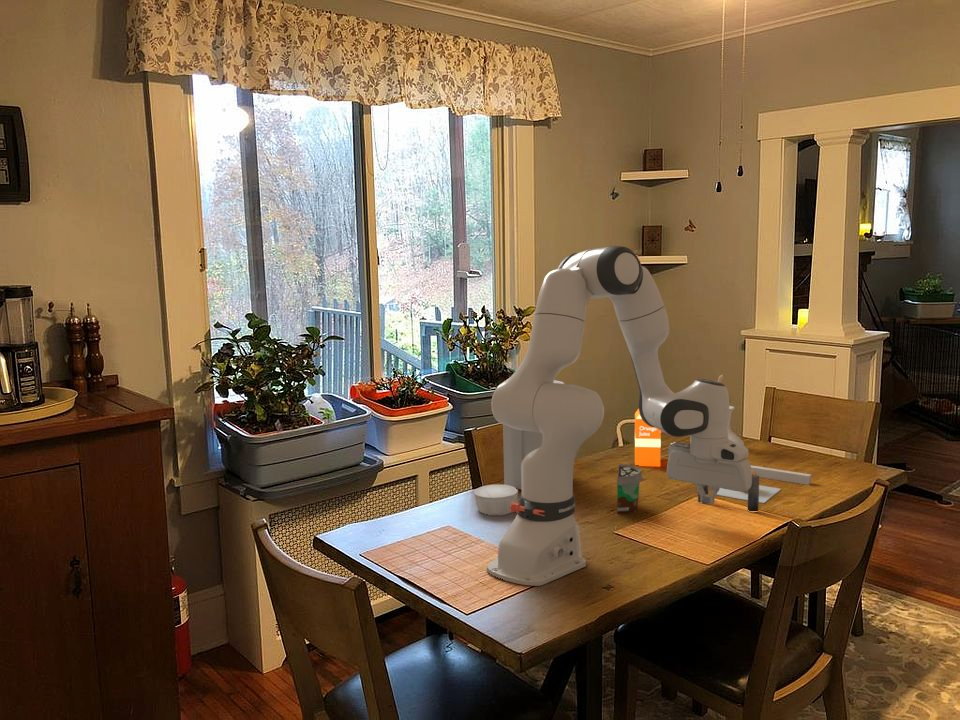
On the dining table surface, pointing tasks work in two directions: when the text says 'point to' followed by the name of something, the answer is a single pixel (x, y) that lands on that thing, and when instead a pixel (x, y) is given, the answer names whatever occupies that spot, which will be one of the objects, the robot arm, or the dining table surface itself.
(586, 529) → the dining table surface
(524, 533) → the robot arm
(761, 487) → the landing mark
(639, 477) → the food container
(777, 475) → the wall
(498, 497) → the ramekin
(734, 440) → the flower in vase
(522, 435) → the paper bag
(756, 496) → the right post
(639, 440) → the orange juice
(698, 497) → the left post
